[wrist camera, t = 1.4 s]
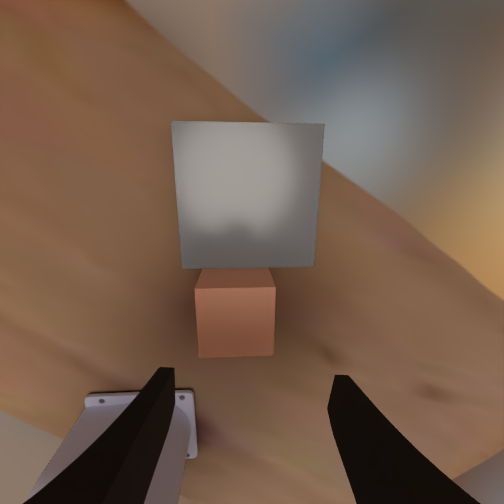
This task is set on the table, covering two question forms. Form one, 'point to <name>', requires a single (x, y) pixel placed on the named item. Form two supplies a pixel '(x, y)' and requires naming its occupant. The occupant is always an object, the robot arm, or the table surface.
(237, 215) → the slate tile
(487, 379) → the table surface
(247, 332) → the clay cube
